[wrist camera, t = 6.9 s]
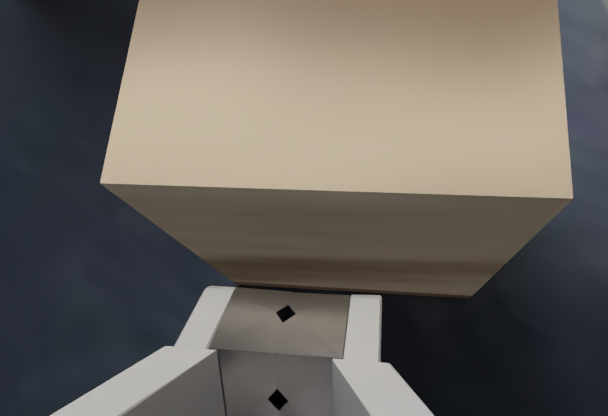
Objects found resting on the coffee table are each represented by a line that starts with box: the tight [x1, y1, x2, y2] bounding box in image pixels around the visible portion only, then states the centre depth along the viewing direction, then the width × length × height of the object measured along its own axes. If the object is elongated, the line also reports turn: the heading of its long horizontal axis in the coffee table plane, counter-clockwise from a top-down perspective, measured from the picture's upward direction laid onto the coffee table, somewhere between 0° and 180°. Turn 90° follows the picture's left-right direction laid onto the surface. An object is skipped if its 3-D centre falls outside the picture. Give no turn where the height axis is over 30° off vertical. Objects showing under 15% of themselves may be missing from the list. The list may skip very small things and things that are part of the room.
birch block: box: [100, 0, 573, 299], centre depth 15 cm, size 6×8×10 cm
